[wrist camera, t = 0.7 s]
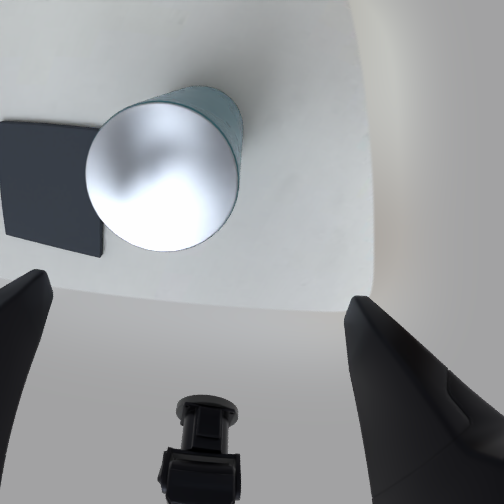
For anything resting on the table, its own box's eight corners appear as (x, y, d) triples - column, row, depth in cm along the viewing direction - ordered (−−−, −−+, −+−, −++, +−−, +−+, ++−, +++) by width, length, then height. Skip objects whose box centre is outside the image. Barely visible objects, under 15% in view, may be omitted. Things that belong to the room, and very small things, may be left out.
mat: (102, 254, 24) (100, 258, 23) (9, 231, 22) (5, 234, 22) (108, 129, 18) (105, 131, 18) (2, 120, 17) (-3, 122, 16)
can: (231, 178, 21) (220, 266, 12) (149, 161, 20) (83, 237, 11) (252, 95, 18) (258, 119, 9) (163, 79, 17) (90, 92, 8)
